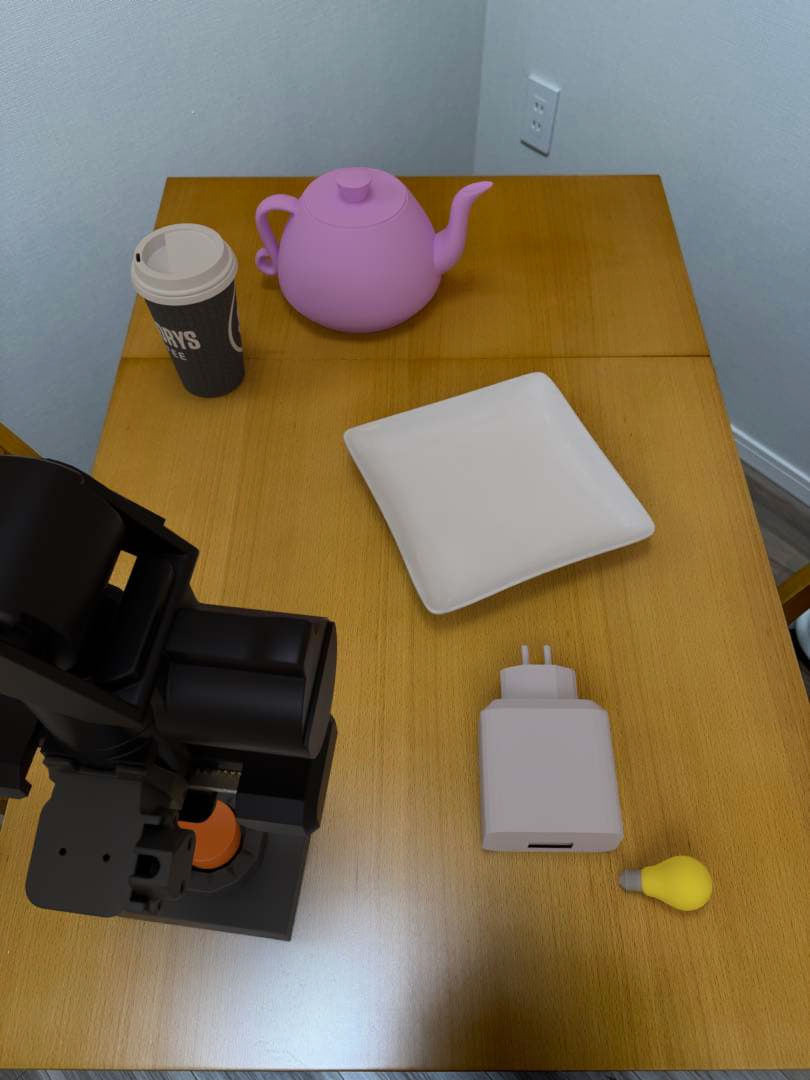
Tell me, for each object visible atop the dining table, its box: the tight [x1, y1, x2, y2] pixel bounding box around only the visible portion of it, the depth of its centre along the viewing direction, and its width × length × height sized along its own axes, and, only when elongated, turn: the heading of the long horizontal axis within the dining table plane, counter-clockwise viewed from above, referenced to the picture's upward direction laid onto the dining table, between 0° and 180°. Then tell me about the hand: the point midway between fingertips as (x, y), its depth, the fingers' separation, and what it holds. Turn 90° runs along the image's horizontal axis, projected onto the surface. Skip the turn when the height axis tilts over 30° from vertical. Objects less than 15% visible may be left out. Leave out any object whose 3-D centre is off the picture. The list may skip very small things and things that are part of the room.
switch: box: [178, 800, 241, 869], centre depth 56 cm, size 4×4×2 cm
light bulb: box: [618, 854, 714, 912], centre depth 57 cm, size 3×6×4 cm, turn 84°
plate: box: [342, 371, 656, 616], centre depth 76 cm, size 21×21×3 cm
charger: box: [477, 644, 625, 853], centre depth 62 cm, size 5×9×15 cm
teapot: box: [254, 166, 494, 334], centre depth 89 cm, size 25×18×14 cm
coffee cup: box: [130, 222, 246, 399], centre depth 81 cm, size 10×10×15 cm
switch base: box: [117, 772, 312, 942], centre depth 59 cm, size 12×10×4 cm
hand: (186, 801), depth 51 cm, fingers closed
